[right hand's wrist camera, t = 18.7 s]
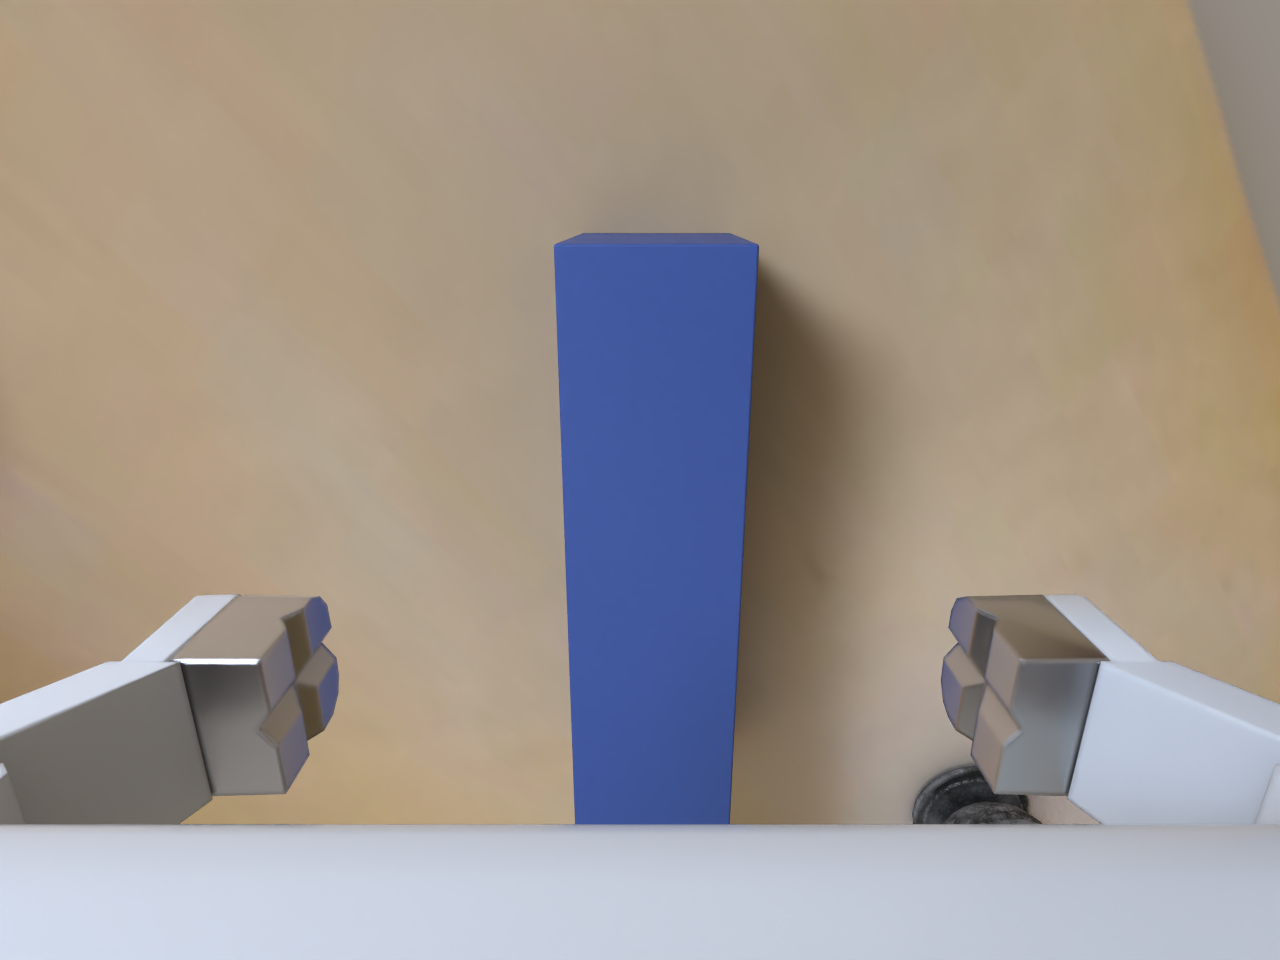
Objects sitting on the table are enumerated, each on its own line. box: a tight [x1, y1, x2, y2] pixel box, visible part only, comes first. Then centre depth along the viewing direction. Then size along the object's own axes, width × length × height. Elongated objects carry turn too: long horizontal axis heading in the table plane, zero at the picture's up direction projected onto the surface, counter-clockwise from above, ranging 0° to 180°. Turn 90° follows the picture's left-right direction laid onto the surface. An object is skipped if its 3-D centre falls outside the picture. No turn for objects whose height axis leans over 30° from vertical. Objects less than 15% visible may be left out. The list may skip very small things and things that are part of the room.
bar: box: [554, 233, 759, 824], centre depth 27 cm, size 22×5×8 cm, turn 0°
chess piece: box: [912, 766, 1042, 824], centre depth 30 cm, size 6×6×12 cm
